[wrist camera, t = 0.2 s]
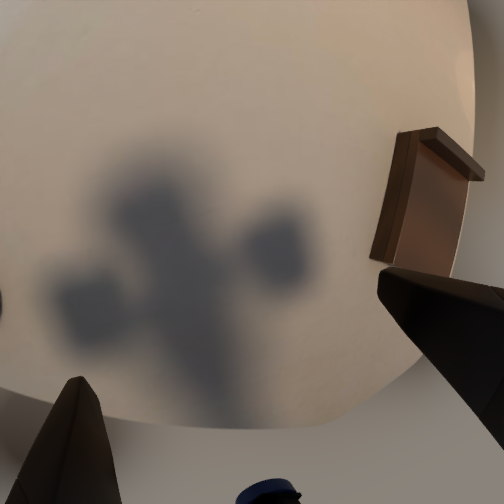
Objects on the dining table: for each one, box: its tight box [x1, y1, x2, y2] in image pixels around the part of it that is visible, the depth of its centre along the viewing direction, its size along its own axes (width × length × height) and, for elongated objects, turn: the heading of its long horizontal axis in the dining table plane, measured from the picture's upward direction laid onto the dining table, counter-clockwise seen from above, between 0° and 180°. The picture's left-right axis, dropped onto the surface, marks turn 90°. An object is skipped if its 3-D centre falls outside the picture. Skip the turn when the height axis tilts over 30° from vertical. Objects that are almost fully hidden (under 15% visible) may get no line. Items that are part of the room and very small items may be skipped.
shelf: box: [370, 127, 485, 278], centre depth 25 cm, size 12×9×5 cm
